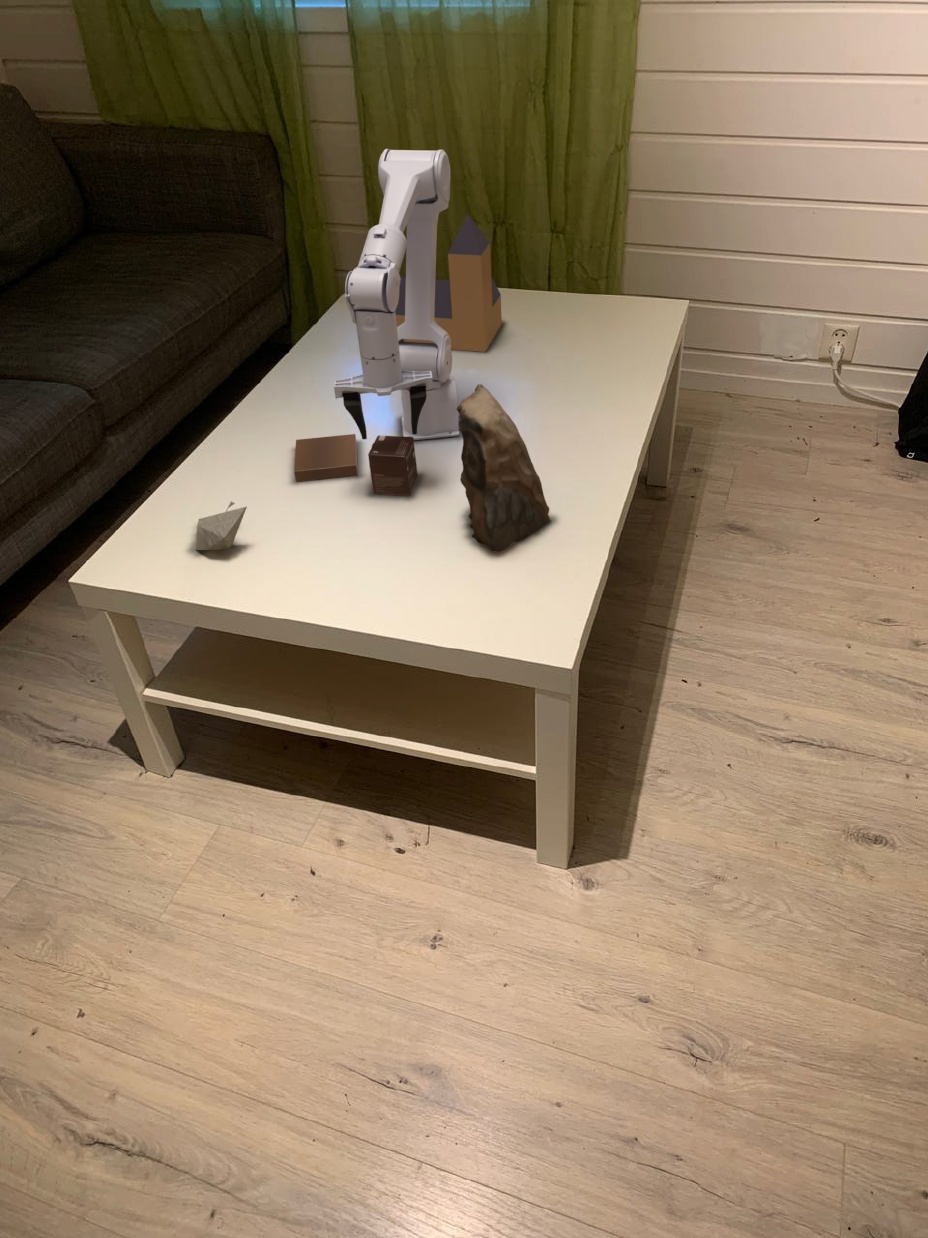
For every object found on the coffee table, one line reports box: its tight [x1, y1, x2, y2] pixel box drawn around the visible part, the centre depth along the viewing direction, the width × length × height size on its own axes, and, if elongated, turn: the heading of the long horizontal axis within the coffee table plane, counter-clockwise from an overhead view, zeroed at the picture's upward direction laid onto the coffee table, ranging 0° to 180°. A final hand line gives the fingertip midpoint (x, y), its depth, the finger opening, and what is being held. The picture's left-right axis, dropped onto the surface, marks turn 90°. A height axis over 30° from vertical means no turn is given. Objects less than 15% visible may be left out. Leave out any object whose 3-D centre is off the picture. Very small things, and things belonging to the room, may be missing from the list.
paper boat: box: [195, 501, 248, 551], centre depth 149 cm, size 12×6×9 cm
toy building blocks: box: [395, 213, 503, 353], centre depth 192 cm, size 12×19×25 cm, turn 74°
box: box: [367, 435, 419, 496], centre depth 158 cm, size 6×6×7 cm
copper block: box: [293, 433, 359, 483], centre depth 166 cm, size 10×10×2 cm
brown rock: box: [457, 383, 551, 553], centre depth 144 cm, size 13×13×20 cm
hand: (389, 433), depth 154 cm, fingers open, 7 cm apart
